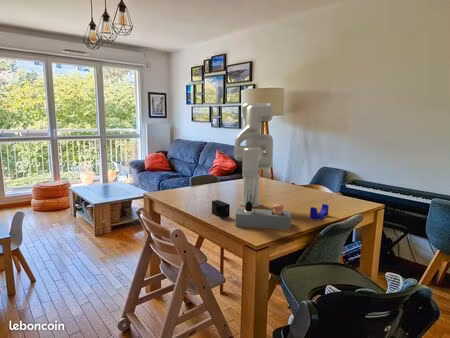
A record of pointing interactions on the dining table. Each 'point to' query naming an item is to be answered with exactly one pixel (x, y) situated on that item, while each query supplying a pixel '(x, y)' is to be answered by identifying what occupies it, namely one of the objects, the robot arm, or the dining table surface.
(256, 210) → the block
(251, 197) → the robot arm
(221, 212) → the digital camera
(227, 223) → the dining table surface
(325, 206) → the blue curved block
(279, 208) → the terracotta plug
